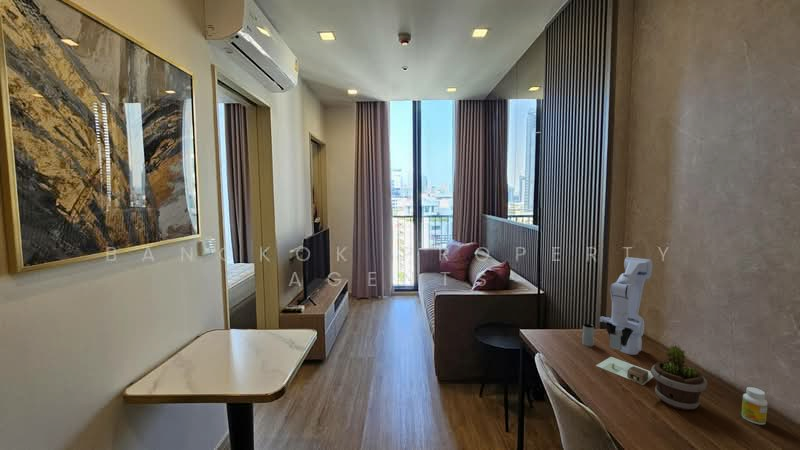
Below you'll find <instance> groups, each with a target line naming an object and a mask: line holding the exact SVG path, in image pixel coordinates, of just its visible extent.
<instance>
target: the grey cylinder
mask: <svg viewBox="0 0 800 450" xmlns="http://www.w3.org/2000/svg"><path fill="white" fill-rule="evenodd" d="M594 331H595V326H594V325H593V324H590V323H583V324H582V340H581V341H582V342H581V343H582V345H583V346H585V347H593V346H594V339H595V338H594V337H595V336H594Z"/></svg>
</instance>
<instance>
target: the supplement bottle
mask: <svg viewBox="0 0 800 450" xmlns="http://www.w3.org/2000/svg"><path fill="white" fill-rule="evenodd" d="M768 406H769V405H768V401H767V400H766V392H765V391H764V390H761V389H760V388H757V387H753V386H752V387H751V386H748V387H746V393H743V394H742V402H741V416H742V418H743V419H744V420H746V421H748V422H751V423H752V424H757V425H766V422H767V414H768Z"/></svg>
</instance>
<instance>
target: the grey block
mask: <svg viewBox="0 0 800 450" xmlns="http://www.w3.org/2000/svg"><path fill="white" fill-rule="evenodd" d="M622 341H623V335H622V331H619V330H616V329H615V331H614V332H612V333H610V337H609V348H611V349H614V350H617V351H620V352H621V350H622V347H627V345H625V346H623V345H622Z"/></svg>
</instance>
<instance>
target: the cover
mask: <svg viewBox="0 0 800 450" xmlns="http://www.w3.org/2000/svg"><path fill="white" fill-rule="evenodd" d="M637 367H638V366H637ZM637 367H634V366H633V367H631V368H630V369H628V372H627V377H628V378H632V377H633V376H634V375H635V376H638V377H639V382H640V383H643V382H645V381H646V380H647V379H648V371H649V370H648V371H645V370H642V369H640V368H641V367H640V368H637Z"/></svg>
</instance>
